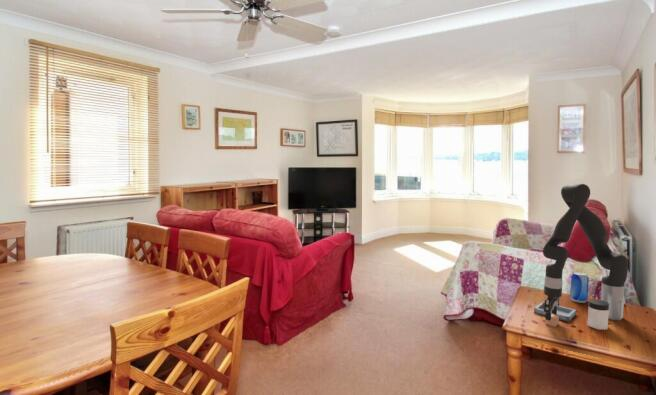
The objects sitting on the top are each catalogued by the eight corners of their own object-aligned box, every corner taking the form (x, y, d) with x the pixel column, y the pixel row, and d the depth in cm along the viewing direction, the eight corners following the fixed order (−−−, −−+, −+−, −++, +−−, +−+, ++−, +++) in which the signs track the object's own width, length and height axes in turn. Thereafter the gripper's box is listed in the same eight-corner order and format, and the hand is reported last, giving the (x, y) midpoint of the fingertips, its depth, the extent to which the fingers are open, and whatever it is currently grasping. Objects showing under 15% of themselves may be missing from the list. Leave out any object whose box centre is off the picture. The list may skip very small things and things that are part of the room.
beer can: (590, 303, 212) (592, 275, 210) (575, 303, 212) (577, 275, 211) (581, 297, 220) (582, 271, 219) (566, 298, 220) (568, 271, 219)
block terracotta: (558, 324, 186) (558, 315, 185) (555, 327, 183) (555, 318, 182) (548, 321, 189) (548, 312, 189) (545, 324, 186) (545, 315, 186)
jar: (612, 328, 181) (613, 303, 180) (602, 331, 177) (604, 306, 176) (592, 320, 189) (593, 297, 188) (582, 324, 185) (584, 300, 184)
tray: (575, 314, 197) (576, 309, 197) (568, 321, 188) (568, 317, 188) (542, 306, 209) (542, 301, 208) (533, 312, 200) (534, 308, 200)
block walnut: (554, 310, 200) (555, 302, 200) (551, 313, 197) (552, 304, 197) (545, 308, 204) (545, 300, 203) (542, 310, 201) (542, 302, 200)
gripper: (557, 290, 177) (554, 324, 178) (566, 284, 186) (564, 315, 188) (539, 286, 182) (537, 319, 184) (549, 280, 192) (547, 311, 193)
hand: (551, 317), depth 186 cm, fingers open, 8 cm apart
